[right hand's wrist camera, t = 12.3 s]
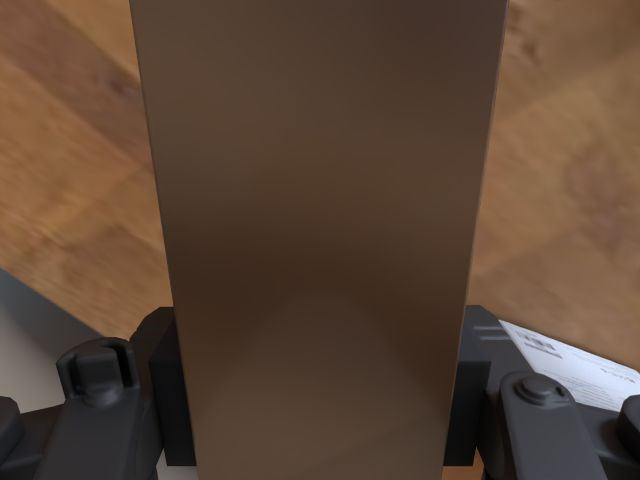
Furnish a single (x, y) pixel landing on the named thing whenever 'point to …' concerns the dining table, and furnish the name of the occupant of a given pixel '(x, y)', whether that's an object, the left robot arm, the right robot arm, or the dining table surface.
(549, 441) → the right robot arm
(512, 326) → the hard drive box
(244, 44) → the bar
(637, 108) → the dining table surface
